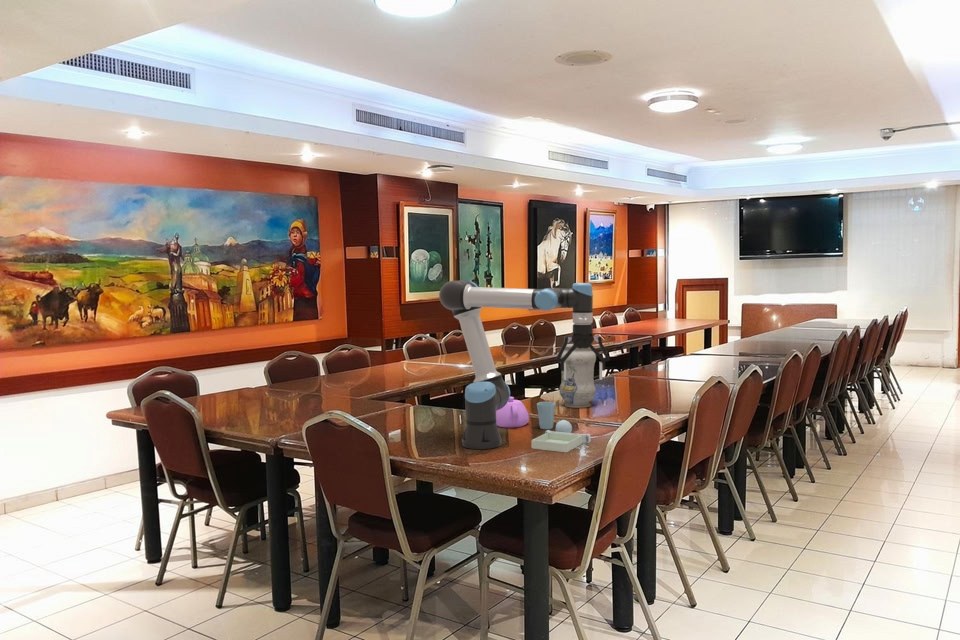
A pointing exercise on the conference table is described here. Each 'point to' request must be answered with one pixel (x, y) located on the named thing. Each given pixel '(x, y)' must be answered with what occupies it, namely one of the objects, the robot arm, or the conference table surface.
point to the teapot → (512, 414)
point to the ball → (563, 426)
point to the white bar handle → (584, 437)
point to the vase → (578, 378)
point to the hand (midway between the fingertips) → (582, 379)
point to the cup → (546, 414)
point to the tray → (556, 442)
